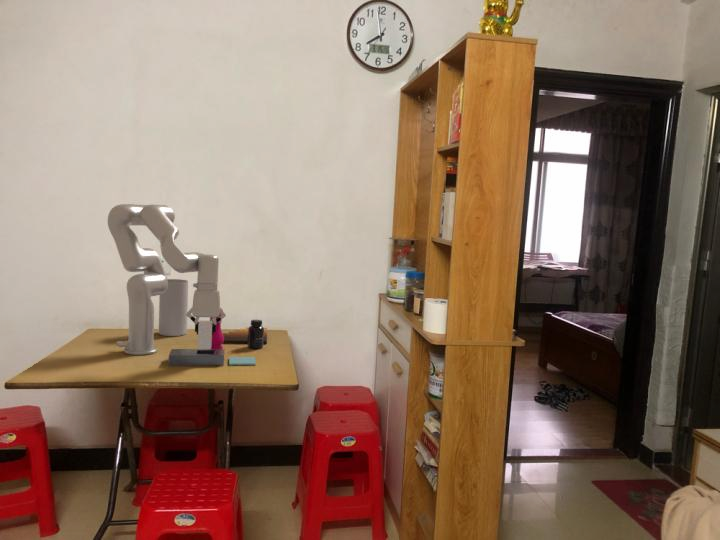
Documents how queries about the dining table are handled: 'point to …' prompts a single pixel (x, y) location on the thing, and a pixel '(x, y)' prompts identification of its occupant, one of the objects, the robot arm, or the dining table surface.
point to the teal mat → (241, 361)
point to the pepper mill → (217, 335)
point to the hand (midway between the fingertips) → (205, 333)
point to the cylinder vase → (173, 308)
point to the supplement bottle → (255, 335)
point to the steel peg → (205, 334)
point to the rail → (196, 357)
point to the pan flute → (240, 337)
